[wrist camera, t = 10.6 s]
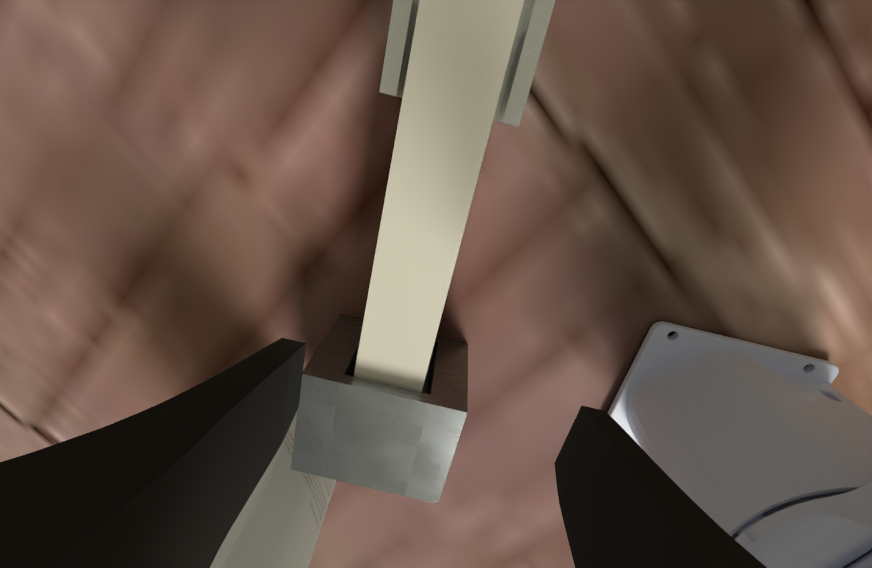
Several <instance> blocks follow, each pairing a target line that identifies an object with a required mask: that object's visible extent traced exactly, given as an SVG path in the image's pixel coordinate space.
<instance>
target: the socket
mask: <svg viewBox="0 0 872 568" xmlns="http://www.w3.org/2000/svg"><path fill="white" fill-rule="evenodd" d="M362 326H363V319H359V318H354V317H350V316H346V315H342V314H340V315H339V317H338V319H337V320H336V322H335V323H334V325H333V326H332V328H331V329H330V331H329V332H328V334H327V335H326V337H325V338H324V340H323V342H322V343H321V345H320V346H319V348H318V349H317V351H316V352H315V354H314V355H313V357H312V358H311V360H310V361H309V363H308V364H307V366H306V368H305V369H304V371H303V373H302V382H301V391H300V400H299V407H298V410H297V418H296V427H295V436H294V445H293V454H292V463H291V470H295V471H299V472H303V473H308V474H312V475H316V476H321V477H325V478H329V479H334V480H338V481H342V482H347V483H351V484H355V485H360V486H364V487H368V488H373V489H377V490H381V491H386V492H390V493H395V494H399V495H403V496H408V497H412V498H416V499H421V500H425V501H429V502H434V503H438V501H439V498H440V495H441V492H442V489H443V486H444V483H445V480H446V477H447V473H448V470H449V467H450V464H451V461H452V458H453V455H454V452H455V449H456V446H457V443H458V440H459V437H460V434H461V431H462V428H463V425H464V421H465V418H466V415H467V391H468V344H464V343H460V342H455V341H451V340H447V339H443V338H439V337H436V339H435V343H434V347H433V351H432V354H431V358H430V362H429V366H428V370H427V373H426V377H425V381H424V385H423V389H422V392H418V391H413V390H409V389H405V388H401V387H396V386H392V385H388V384H384V383H379V382H375V381H371V380H367V379H362V378H358V377H354V372H355V366H356V360H357V355H358V349H359V343H360V338H361V332H362Z"/></svg>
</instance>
